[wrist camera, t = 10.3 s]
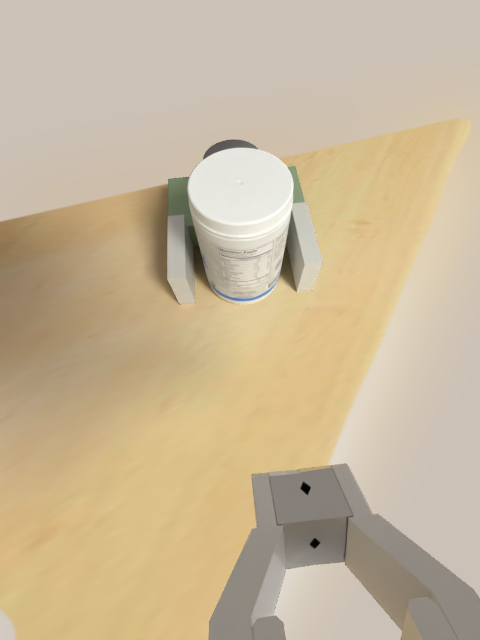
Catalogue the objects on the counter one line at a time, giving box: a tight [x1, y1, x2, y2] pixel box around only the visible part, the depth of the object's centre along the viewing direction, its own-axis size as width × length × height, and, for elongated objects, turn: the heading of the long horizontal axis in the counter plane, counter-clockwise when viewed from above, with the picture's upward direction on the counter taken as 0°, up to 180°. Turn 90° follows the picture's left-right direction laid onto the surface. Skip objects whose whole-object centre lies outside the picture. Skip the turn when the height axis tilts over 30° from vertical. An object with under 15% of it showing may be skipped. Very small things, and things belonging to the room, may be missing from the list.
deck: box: [167, 140, 323, 304], centre depth 36 cm, size 18×18×9 cm
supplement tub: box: [187, 148, 294, 304], centre depth 31 cm, size 10×10×15 cm
